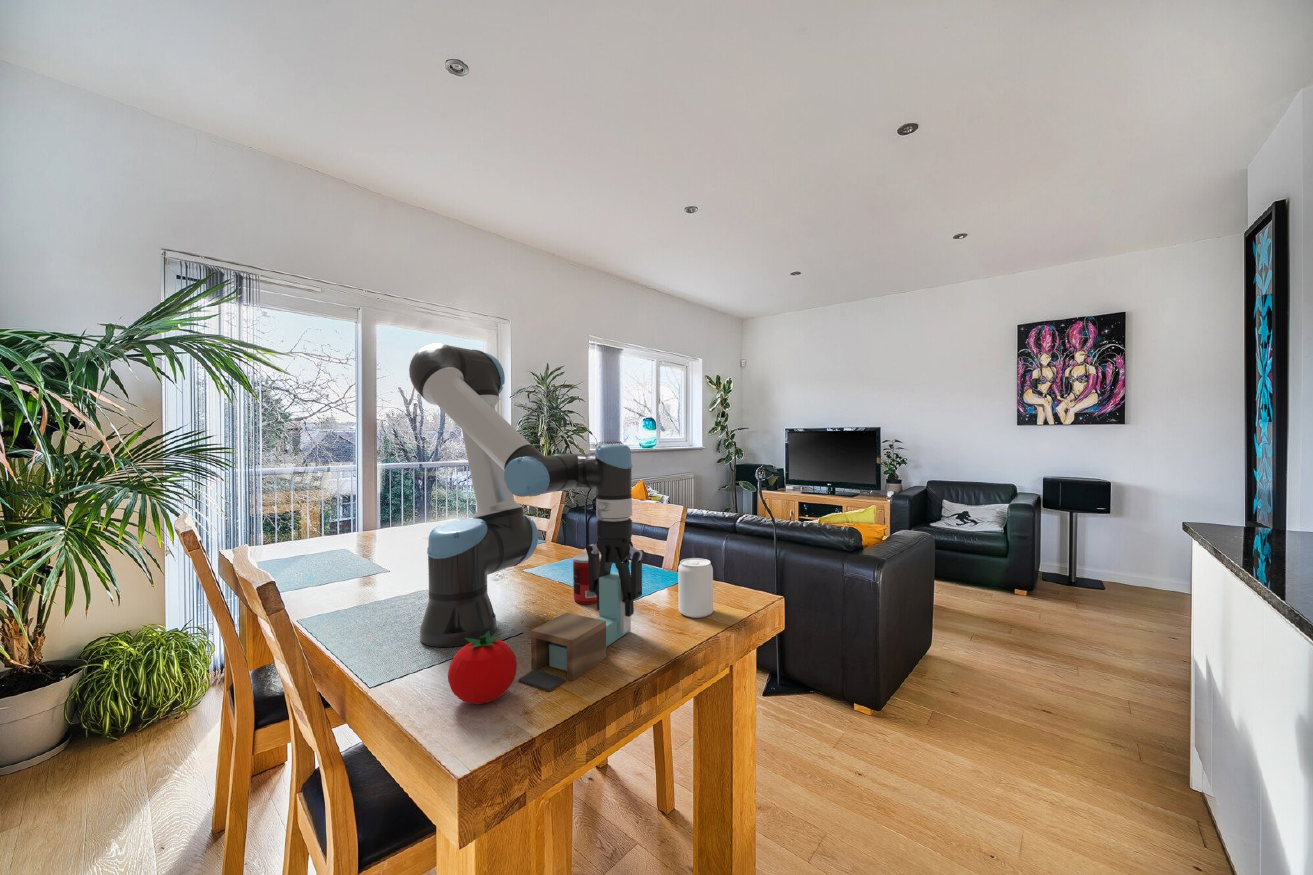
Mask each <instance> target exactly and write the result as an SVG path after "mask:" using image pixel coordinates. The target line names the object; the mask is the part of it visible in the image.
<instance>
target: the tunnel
mask: <svg viewBox="0 0 1313 875" xmlns="http://www.w3.org/2000/svg"><path fill="white" fill-rule="evenodd" d="M596 618H597V617H591V616H586V615H582V614H576V613H571V612H564V613H563V614H561V615H558V616H557V617H555V618H553V619H551V620H548V621H547V622H545V623H542V624H541V625H539V626H537V627H534V628H533V629H531V630H530V648H531V649H530V652H531V653H530V654H531V656H530V657H531V658H530V659H531V662H530V663H531V664H530V666H531V670H532V671H533V670H534V669H535V670H538V671H539V670H540V669H542V668H543V667H545V666H546V665H548V664H550V662H549V644H550V643H552V642H553V643H557V644H561V645H565V646H567V671H566V678H567V680H568V681H571V682H574V681H575V680H577V679H578V678H579V677H581V676H582V675H584V674H585V673H587V672H588V671H590V670H591V669H592V668H594V667H595V666H597V665H599V664H600V663H601V662H602V661H604V660H605V659H607V647H606V621H605V620H600V619H596Z"/></svg>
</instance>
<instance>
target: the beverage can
mask: <svg viewBox="0 0 1313 875" xmlns="http://www.w3.org/2000/svg"><path fill="white" fill-rule="evenodd" d="M711 563H712V562H711V560H709V559H705V558H701V557H690V558H684V559H681V560H680V561H679V565H678V568H677V570H678V571H677V572H678V573H677V575H678V576H677V577H678V578H677V579H678V580H677V581H678V583H677V584H678V585H677V589H678V592H677V593H678V612H679V613H680V614H682V615H684V616H685V617H688V618H695V619H697V618H699V619H701V618H705V617H708V616H710V615H711V614H712V613H713V612H714V569H713V566H712V564H711Z"/></svg>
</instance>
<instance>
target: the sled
mask: <svg viewBox="0 0 1313 875" xmlns="http://www.w3.org/2000/svg"><path fill="white" fill-rule="evenodd" d="M623 599H624V598H623V593H622V588H621V579H620V578H619V573H618V571H617V572H616V571H612V572H610V574H608V575H605V576H602V577H600V578H599V610H598V612H599V614H598V615H599V616H597V617H595V618H596V619H600V620H605V621H606V648H607V647H608V646H610V645H611V644H613V643H615V642H616V641H617V640H619V639H620V638H621V637H623V636H625V635H626V634H628V633H630V632H631V631H632V630H631V629H630V630H628V631H627V632H625V633H621V614H620V601H622V600H623ZM549 662H550V663H549V667H551V668H554V669H558V670H561V671H565V672H567V646H565V645H561V644H557V643H553V642H552V643H550V644H549Z"/></svg>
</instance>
